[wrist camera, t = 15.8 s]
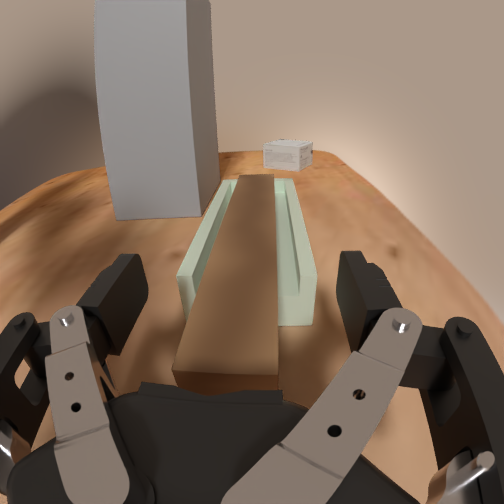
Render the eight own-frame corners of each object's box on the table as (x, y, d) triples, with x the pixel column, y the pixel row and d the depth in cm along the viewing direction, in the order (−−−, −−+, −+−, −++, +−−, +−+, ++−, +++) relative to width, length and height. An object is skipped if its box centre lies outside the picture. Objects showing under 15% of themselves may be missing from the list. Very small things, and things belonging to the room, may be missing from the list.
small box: (299, 172, 54) (299, 146, 52) (262, 168, 58) (261, 143, 55) (313, 164, 60) (313, 141, 58) (279, 161, 64) (279, 138, 61)
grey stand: (116, 220, 37) (96, -15, 21) (155, 185, 51) (141, 9, 35) (201, 216, 36) (185, -41, 20) (220, 180, 50) (210, -4, 34)
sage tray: (186, 324, 20) (176, 275, 18) (225, 209, 38) (223, 179, 36) (312, 325, 19) (317, 275, 17) (292, 208, 37) (292, 178, 35)
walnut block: (191, 419, 11) (171, 369, 9) (241, 206, 32) (239, 174, 30) (276, 423, 11) (278, 374, 9) (274, 206, 31) (274, 174, 30)
